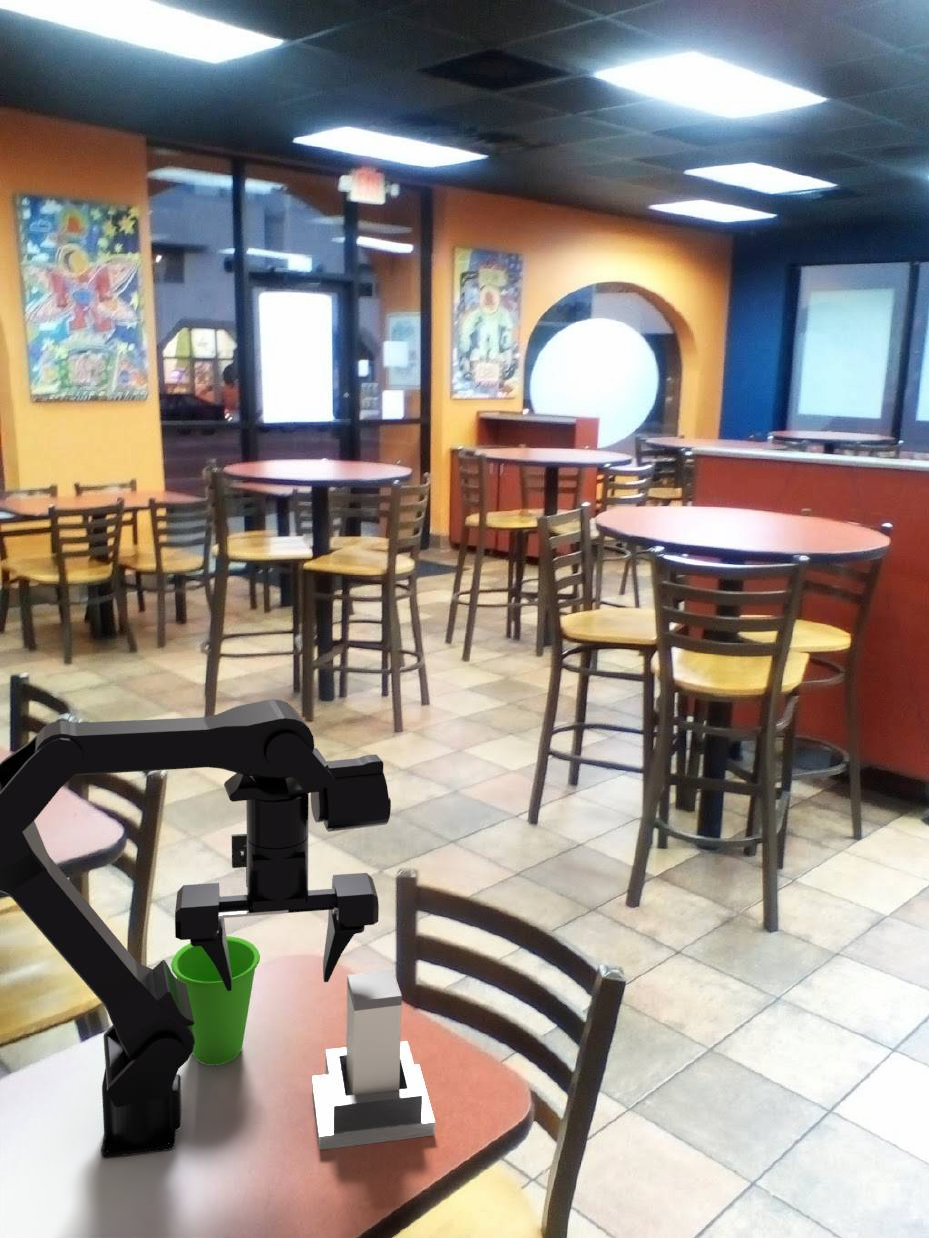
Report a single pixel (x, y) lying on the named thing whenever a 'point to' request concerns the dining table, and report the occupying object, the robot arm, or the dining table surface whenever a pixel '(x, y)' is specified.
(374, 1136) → the socket
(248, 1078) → the dining table surface
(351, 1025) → the plug
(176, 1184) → the dining table surface
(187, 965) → the cup
